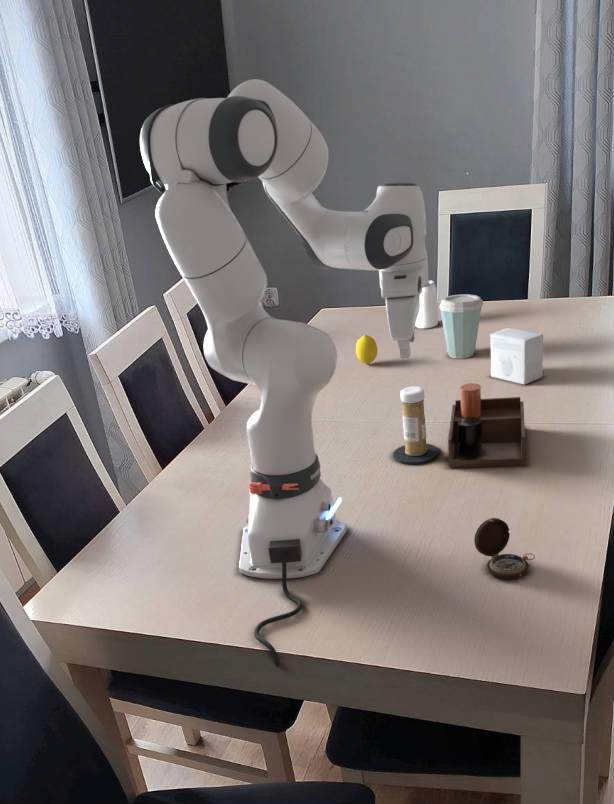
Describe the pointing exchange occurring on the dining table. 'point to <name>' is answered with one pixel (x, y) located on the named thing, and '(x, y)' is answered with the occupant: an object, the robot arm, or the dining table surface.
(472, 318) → the disposable coffee cup
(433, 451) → the coaster
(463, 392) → the terracotta spice jar
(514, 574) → the compass
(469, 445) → the black spice tin
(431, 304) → the can
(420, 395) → the sprinkles bottle
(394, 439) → the dining table surface
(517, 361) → the cosmetics box
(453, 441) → the spice rack
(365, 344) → the lemon
